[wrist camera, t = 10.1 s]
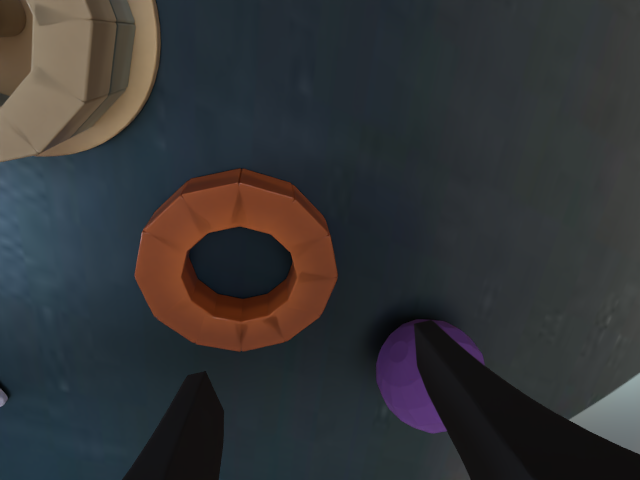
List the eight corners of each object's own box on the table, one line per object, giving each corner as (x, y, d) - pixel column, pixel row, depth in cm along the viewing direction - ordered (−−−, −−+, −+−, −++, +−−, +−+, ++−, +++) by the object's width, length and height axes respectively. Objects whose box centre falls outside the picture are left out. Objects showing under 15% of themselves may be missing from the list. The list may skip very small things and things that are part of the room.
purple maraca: (532, 511, 28) (362, 429, 19) (499, 430, 33) (349, 331, 23) (614, 488, 26) (468, 380, 16) (566, 404, 31) (431, 282, 21)
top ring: (185, 340, 22) (178, 366, 20) (117, 193, 17) (100, 211, 16) (341, 305, 22) (347, 328, 20) (312, 152, 18) (317, 165, 16)
